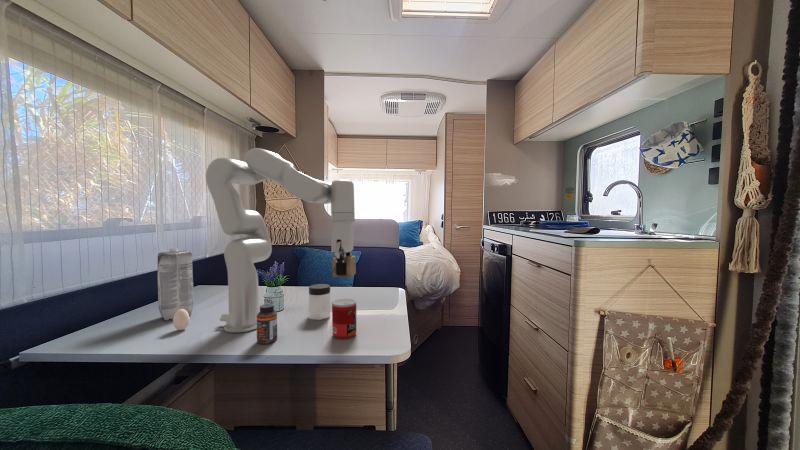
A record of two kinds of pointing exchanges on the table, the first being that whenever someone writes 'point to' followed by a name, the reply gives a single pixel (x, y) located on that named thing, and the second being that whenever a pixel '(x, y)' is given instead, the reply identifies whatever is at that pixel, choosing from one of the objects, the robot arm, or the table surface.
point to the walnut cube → (349, 266)
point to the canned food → (344, 318)
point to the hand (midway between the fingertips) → (344, 272)
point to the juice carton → (175, 282)
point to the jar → (319, 301)
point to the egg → (181, 319)
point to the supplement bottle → (266, 324)
